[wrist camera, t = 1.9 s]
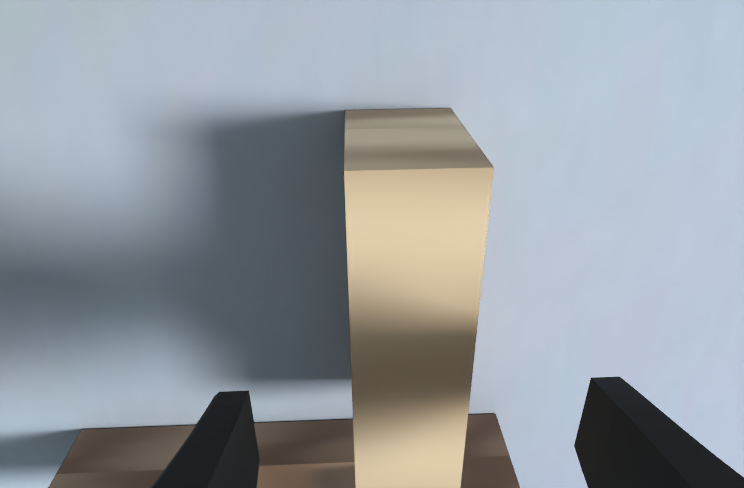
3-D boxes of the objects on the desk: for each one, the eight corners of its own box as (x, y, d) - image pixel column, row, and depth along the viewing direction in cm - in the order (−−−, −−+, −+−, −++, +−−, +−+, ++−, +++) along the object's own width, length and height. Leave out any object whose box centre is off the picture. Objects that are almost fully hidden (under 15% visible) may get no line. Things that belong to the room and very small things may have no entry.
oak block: (345, 110, 15) (343, 170, 10) (450, 108, 15) (493, 167, 10) (354, 379, 20) (356, 500, 15) (434, 376, 20) (459, 496, 15)
